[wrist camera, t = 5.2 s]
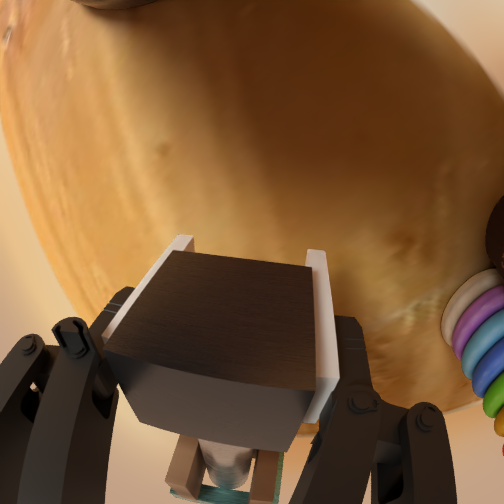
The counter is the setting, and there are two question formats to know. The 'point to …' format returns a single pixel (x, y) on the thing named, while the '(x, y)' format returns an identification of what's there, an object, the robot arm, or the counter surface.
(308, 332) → the shaft
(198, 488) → the bearing block
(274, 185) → the counter surface
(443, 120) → the counter surface
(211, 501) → the spacer
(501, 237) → the coffee mug
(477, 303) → the stacking toy
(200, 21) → the counter surface
